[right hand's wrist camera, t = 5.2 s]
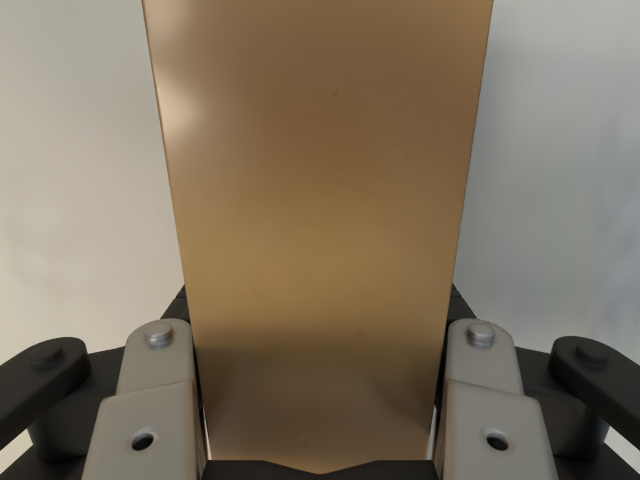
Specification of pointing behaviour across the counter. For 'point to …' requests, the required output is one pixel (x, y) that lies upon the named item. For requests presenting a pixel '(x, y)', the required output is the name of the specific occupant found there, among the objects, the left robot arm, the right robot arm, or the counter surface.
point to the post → (318, 212)
